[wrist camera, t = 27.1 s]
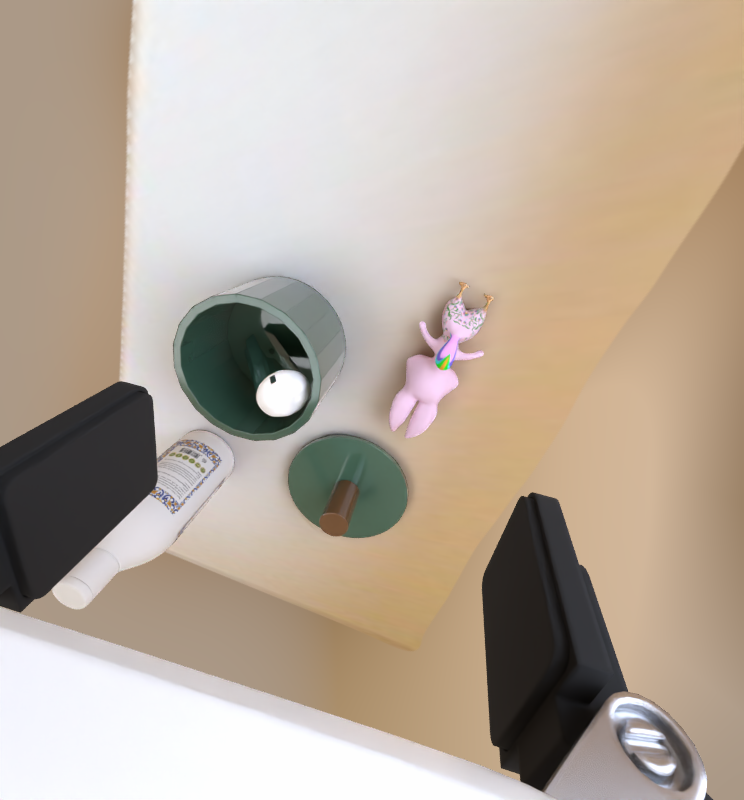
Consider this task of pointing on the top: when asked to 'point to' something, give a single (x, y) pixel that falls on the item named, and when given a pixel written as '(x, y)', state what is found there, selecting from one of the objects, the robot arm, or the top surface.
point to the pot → (226, 361)
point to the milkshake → (275, 376)
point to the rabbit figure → (436, 366)
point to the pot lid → (348, 486)
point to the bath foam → (153, 515)
